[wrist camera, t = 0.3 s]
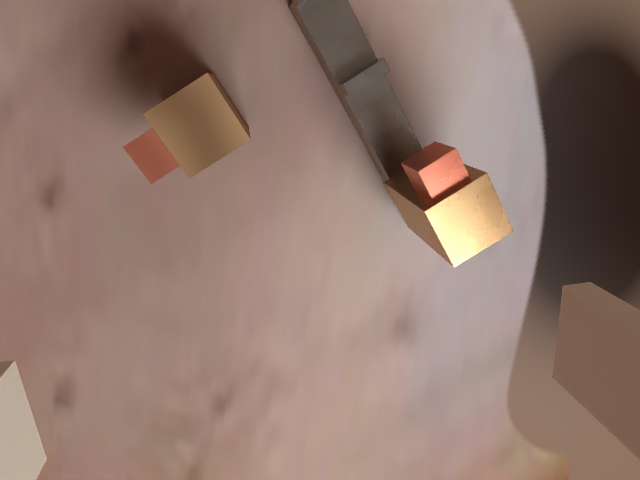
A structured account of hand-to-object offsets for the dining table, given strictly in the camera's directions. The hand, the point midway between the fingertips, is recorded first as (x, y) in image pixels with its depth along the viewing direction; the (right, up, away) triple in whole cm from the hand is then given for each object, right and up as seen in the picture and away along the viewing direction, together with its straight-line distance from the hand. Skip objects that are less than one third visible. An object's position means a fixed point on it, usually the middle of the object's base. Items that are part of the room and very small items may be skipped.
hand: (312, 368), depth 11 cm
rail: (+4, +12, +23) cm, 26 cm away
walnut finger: (-8, +12, +21) cm, 25 cm away
